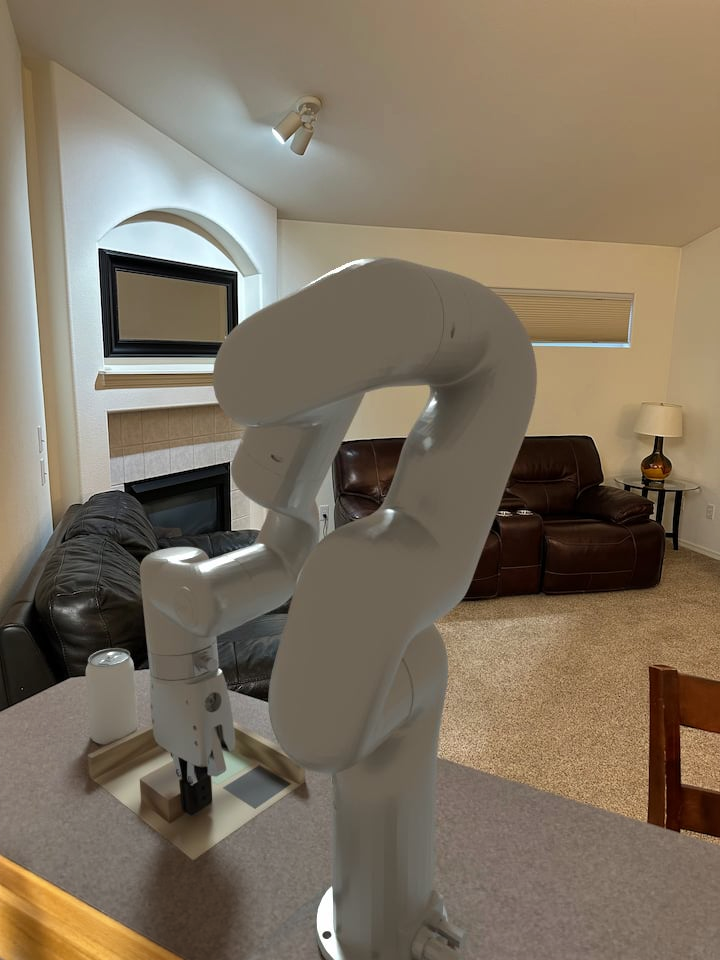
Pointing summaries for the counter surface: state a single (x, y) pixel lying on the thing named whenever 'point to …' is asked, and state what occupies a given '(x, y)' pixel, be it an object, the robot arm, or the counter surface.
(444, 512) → the robot arm
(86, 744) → the counter surface
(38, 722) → the counter surface
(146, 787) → the block
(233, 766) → the green pad
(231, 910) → the counter surface
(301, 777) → the board
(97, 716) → the can
